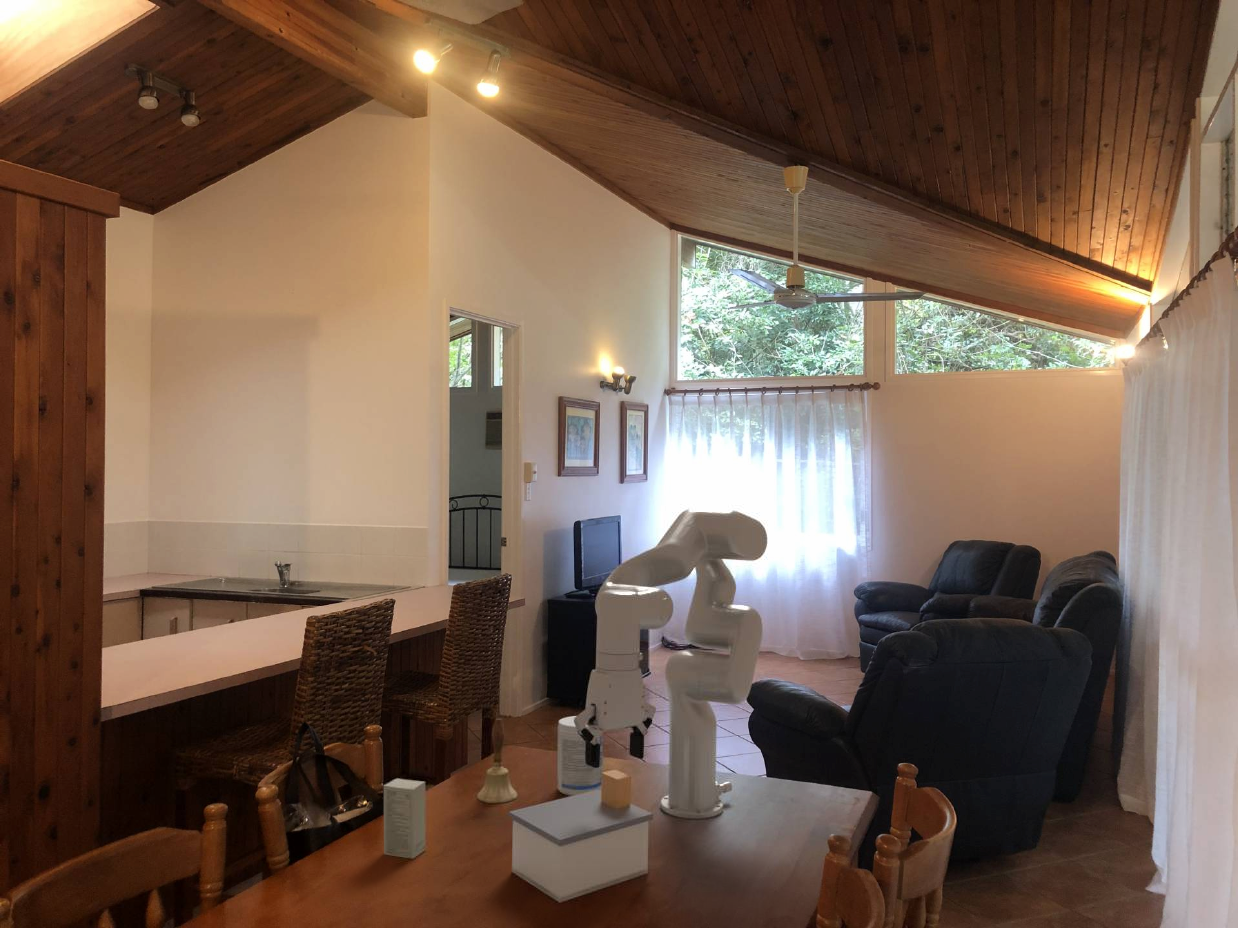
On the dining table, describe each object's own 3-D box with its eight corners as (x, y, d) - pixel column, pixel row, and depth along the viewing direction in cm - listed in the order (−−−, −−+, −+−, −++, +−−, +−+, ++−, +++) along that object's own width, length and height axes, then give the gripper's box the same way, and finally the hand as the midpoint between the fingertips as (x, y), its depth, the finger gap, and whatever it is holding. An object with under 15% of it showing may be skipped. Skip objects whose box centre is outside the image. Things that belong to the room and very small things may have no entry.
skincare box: (426, 850, 162) (427, 781, 163) (412, 860, 158) (414, 789, 158) (395, 845, 165) (396, 776, 165) (381, 854, 160) (382, 784, 161)
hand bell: (470, 794, 191) (471, 717, 192) (504, 787, 196) (506, 712, 197) (489, 806, 185) (490, 726, 185) (524, 798, 190) (526, 720, 190)
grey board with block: (598, 801, 166) (599, 761, 166) (652, 826, 155) (653, 783, 155) (508, 824, 154) (509, 781, 155) (559, 854, 143) (560, 807, 143)
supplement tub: (610, 792, 194) (611, 722, 194) (571, 801, 188) (572, 729, 189) (586, 779, 202) (587, 712, 202) (548, 787, 197) (549, 718, 197)
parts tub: (597, 846, 165) (598, 795, 166) (647, 873, 154) (648, 819, 155) (511, 871, 154) (512, 817, 154) (559, 902, 143) (560, 844, 143)
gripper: (641, 654, 168) (639, 748, 167) (564, 662, 157) (561, 764, 156) (669, 660, 162) (666, 758, 161) (590, 670, 151) (587, 775, 150)
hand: (614, 761), depth 159 cm, fingers open, 9 cm apart
